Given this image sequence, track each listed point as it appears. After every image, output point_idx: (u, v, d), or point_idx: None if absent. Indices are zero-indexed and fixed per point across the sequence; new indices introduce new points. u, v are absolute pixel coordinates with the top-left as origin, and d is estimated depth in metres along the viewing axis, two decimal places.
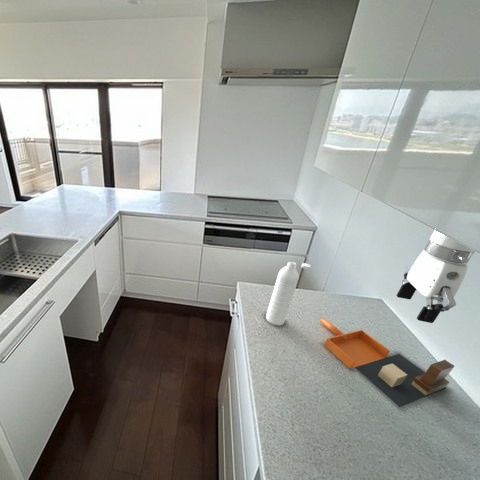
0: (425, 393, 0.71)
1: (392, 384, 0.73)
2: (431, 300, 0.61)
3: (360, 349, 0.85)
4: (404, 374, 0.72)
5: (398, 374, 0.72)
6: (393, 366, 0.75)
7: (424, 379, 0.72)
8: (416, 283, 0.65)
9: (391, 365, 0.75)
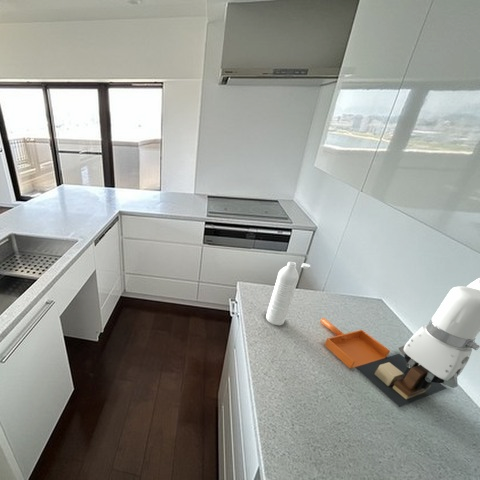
0: (405, 397, 0.70)
1: (388, 383, 0.73)
2: (433, 377, 0.66)
3: (360, 349, 0.85)
4: (400, 373, 0.73)
5: (395, 372, 0.73)
6: (390, 365, 0.75)
7: (405, 383, 0.70)
8: (423, 362, 0.67)
9: (387, 364, 0.75)
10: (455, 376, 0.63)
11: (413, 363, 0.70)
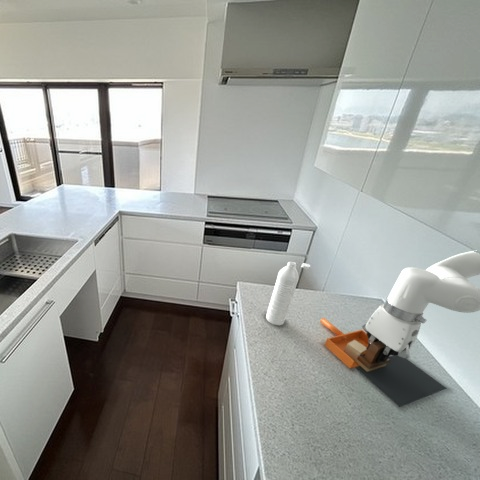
0: (367, 370, 0.77)
1: (356, 358, 0.80)
2: (390, 350, 0.73)
3: None
4: (365, 348, 0.80)
5: (361, 348, 0.80)
6: (356, 342, 0.82)
7: (366, 357, 0.78)
8: (381, 337, 0.74)
9: (354, 342, 0.83)
10: (407, 348, 0.70)
11: (373, 339, 0.77)
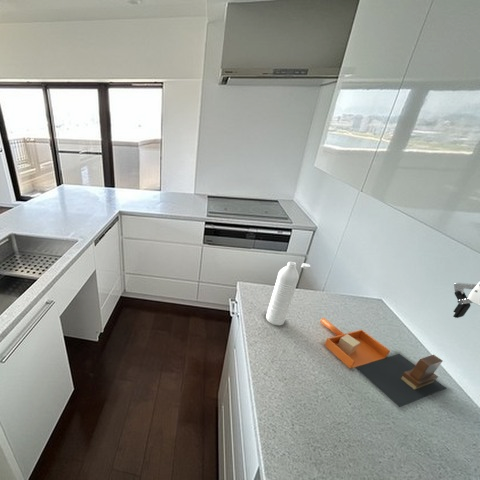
0: (414, 387, 0.73)
1: (349, 352, 0.82)
2: None
3: (360, 349, 0.85)
4: (358, 342, 0.82)
5: (353, 342, 0.82)
6: (348, 336, 0.85)
7: (413, 374, 0.73)
8: None
9: (346, 336, 0.85)
10: None
11: (468, 302, 0.66)
